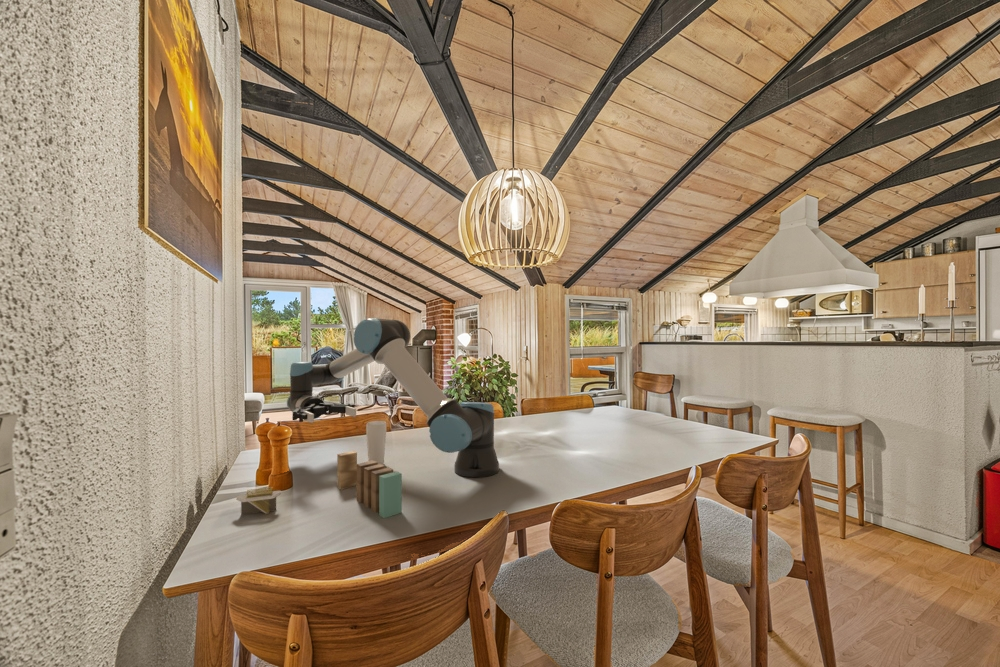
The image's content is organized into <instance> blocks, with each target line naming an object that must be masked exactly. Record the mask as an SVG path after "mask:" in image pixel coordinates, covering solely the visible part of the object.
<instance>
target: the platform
mask: <svg viewBox="0 0 1000 667" xmlns="http://www.w3.org/2000/svg"><path fill="white" fill-rule="evenodd" d="M273 488H274V487H273V486H270V487H262V488H257V490H256V492H255V488H252V489H247V491H246V492H245V493H246V494H239V495H237V496H236V498H235V499H236V500H237V501H239V502H240V514H241V515H249V514H257V513H258V514H259V513H264V514H269V513H270V512H273V511H277V497H278V496H280V495H281V494H282V490H274V489H273Z"/></svg>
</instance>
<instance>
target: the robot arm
mask: <svg viewBox="0 0 1000 667" xmlns="http://www.w3.org/2000/svg"><path fill="white" fill-rule="evenodd" d="M410 341H411V332H410V329H409V327H408V325H407V324H405V323H404V322H402V321H401V320H398V319H389V318H378V317H376V318H375V317H371V318H364V319H363V320H361V321H360V322H359V323H358V324H357V326H356V327H355V328H354V332H353V344H354V346H355V349H353V350H350V351H349V352H347V353H346V354H344V355H342V356H340V357H338V358H335V359H334V360H332V361H330V362H329V363H327V364H324V365H322V364H321V365H313V362H312V361H294V362H292V363H291V364H290V372H289V376H290V377H289V378H290V392H289V396H288V398H287V399H286V407H287V408H288V409H289V410H290V411H291V412H292V421H297V420H298V422H299V423H302V422H304V421H306V422H308V423H311V424H313V423H314V422H315V421H314V420H316V419H318V418H320V417H322V416H323V415H331V414H345V415H347V416H349V417H353V418H356V417H357V408H356V407H355V406H356V405H355V404H351V403H347V404H343V403H337V402H335V403H334V402H333V403H325V402H324V400H323V399H321V398H320V397H316V396H313V388H314V386H320V385H327V384H328V385H329V384H332V385H333V384H336V383H340V382H341V381H343V379H344V377H346V376H348V375H350V374H352V373H354V372H356V371H358V370H360V369H362V368H363V367H365V366H367V365H369V364H371V363H373V362H375V363H377V364H378V365H379V364H380V365H383V366H385V368H386V369H388V371H389V372H390V374H391V375H392V376H393V377H394V379H395V380H396V381H397V382H398V384H400V386H401V387H402V388H403V389H404V391H405V392H406V393H407V394H408V395H409V397H410V398H411V399H412V401H414V402H415V404H416V405H417V406H418V407H419V409H420V410H421V411H422V412H423V413H424V414H425V415H426V425H427V426H428V427H429V433H430V435H429V437H430V440H431V442H432V444H433V445H434V446H435V447H436V448H437V449H438V450H440V451H441V452H443V453H448V454H449V453H450V454H454V453H457V456H456V460H455V461H454V473H455V474H456V475H458V476H461V477H466V478H483V477H484V478H485V477H489V476H493V475H495V474H497V473H498V472H500V463H499V460H498V456H497V452H496V449H495V446H494V445H495V412H494V411H495V408H494V407H495V406H494V405H493V404H492V403H490V402H479V401H477V402H476V401H461V402H460V403H459V402H458V401H457V399H455V398H449V397H448V396H446V394H445V393H444V391H442V389H441V388H440V387H439V386H438V385H437V383H436V382H435V381H434V380H433V379H432V378H431V376H429V375H428V373H427V372H426V371H425V370H424V369H423V367H422V366H421V365H420V364H419V363H418V361H417V360H416V359H415V358H414V357H413V355H412V354H411V353H410V352H409V350H407V346H408V345H409V344H410Z"/></svg>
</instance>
